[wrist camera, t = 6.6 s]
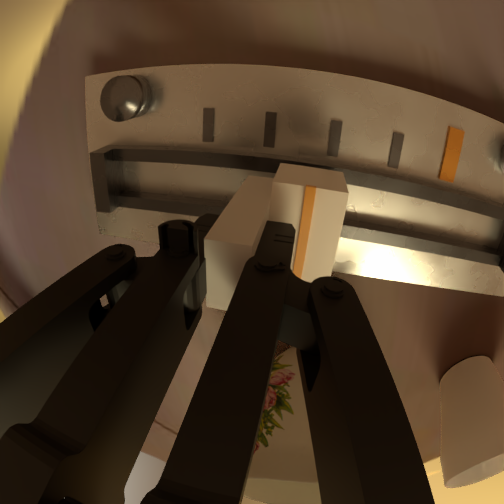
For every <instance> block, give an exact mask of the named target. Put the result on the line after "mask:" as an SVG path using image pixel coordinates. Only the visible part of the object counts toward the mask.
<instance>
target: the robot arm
mask: <svg viewBox="0 0 504 504" xmlns="http://www.w3.org/2000/svg"><path fill="white" fill-rule="evenodd" d="M273 179H274V178H267V177H259V176H250V175H248V177H247V178H246V179H245V181H244V182H243V184H242V185H241V186H240V188H239V189H238V191H237V192H236V193H235V195H234V196H233V198H232V199H231V200H230V202H229V203H228V205H227V206H226V208H225V209H224V210H223V212H222V213H221V215H217V214H209V213H206V214H204V215H203V216H201V217H199V218H197V220H196V221H195V222H192V221H188V220H180V219H176V220H169V221H166V222H164V223H162V224H160V225H159V226H158V235H159V245H160V250H159V251H158V252H157V253H156V254H155V255H154V256H153V257H136V254H135V250H134V248H133V247H131V246H129V245H125V244H115V245H112V246H109V247H107V248H105V249H103V250H101V251H100V252H98V253H97V254H95V255H94V256H92V257H91V258H89V259H88V260H86V261H85V262H83V263H82V264H80V265H79V266H77V267H76V268H74V269H73V270H72V271H70V272H69V273H67V274H66V275H64V276H63V277H61V278H60V279H59V280H57V281H56V282H54V283H53V284H52V285H50V286H49V287H47V288H46V289H45V290H43V291H42V292H41V293H39V294H38V295H37V296H35V297H34V298H32V299H31V300H30V301H28V302H27V303H26V304H24V305H23V306H22V307H21V308H19V309H18V310H17V311H15V312H14V313H13V314H11V315H10V316H9V317H8V318H6V319H5V320H4V321H3V322H1V323H0V504H124V502H125V498H124V488H125V485H126V482H127V480H128V478H129V475H130V473H131V471H132V468H133V466H134V464H135V462H136V459H137V457H138V455H139V453H140V450H141V448H142V446H143V443H144V441H145V439H146V437H147V434H148V432H149V430H150V428H151V425H152V423H153V421H154V419H155V417H156V414H157V412H158V410H159V408H160V405H161V403H162V401H163V399H164V397H165V394H166V392H167V390H168V388H169V386H170V383H171V381H172V379H173V377H174V375H175V372H176V370H177V368H178V366H179V364H180V362H181V359H182V357H183V355H184V353H185V351H186V349H187V346H188V344H189V342H190V340H191V338H192V336H193V333H194V331H195V329H196V327H197V325H198V323H199V321H200V318H201V316H202V302H203V300H204V298H205V296H206V307H210V308H215V309H220V310H226V314H225V316H224V319H223V321H222V324H221V326H220V329H219V331H218V334H217V336H216V339H215V341H214V344H213V346H212V349H211V351H210V354H209V356H208V359H207V362H206V364H205V367H204V369H203V372H202V374H201V377H200V379H199V382H198V384H197V387H196V389H195V392H194V394H193V397H192V399H191V402H190V405H189V407H188V410H187V412H186V415H185V417H184V420H183V422H182V425H181V427H180V430H179V432H178V435H177V438H176V440H175V443H174V445H173V448H172V450H171V453H170V455H169V458H168V460H167V463H166V466H165V468H164V471H163V473H162V476H161V478H160V480H159V482H158V484H157V485H156V487H155V488H154V489H152V490H151V491H150V492H148V493H147V494H146V495H145V497H144V498H143V500H142V501H141V503H140V504H241V502H242V498H243V494H244V491H245V487H246V483H247V479H248V475H249V470H250V466H251V462H252V458H253V454H254V450H255V445H256V441H257V437H258V432H259V428H260V423H261V419H262V414H263V410H264V405H265V400H266V396H267V391H268V386H269V381H270V377H271V372H272V367H273V362H274V357H275V352H276V347H277V343H278V340H280V341H282V342H284V343H286V344H289V345H291V346H293V347H295V348H296V355H297V360H298V366H299V371H300V377H301V382H302V388H303V393H304V399H305V405H306V411H307V416H308V422H309V428H310V434H311V440H312V446H313V452H314V458H315V465H316V471H317V477H318V484H319V490H320V497H321V504H435V502H434V499H433V495H432V492H431V488H430V485H429V481H428V478H427V475H426V471H425V468H424V465H423V462H422V458H421V455H420V452H419V449H418V446H417V443H416V440H415V437H414V434H413V431H412V429H411V426H410V423H409V420H408V417H407V415H406V412H405V409H404V406H403V404H402V401H401V398H400V396H399V393H398V390H397V388H396V385H395V383H394V380H393V378H392V375H391V373H390V370H389V368H388V365H387V363H386V360H385V358H384V355H383V353H382V351H381V348H380V346H379V344H378V341H377V339H376V337H375V334H374V332H373V330H372V327H371V325H370V323H369V320H368V318H367V316H366V314H365V312H364V309H363V307H362V305H361V303H360V301H359V298H358V296H357V294H356V292H355V290H354V288H353V287H352V286H351V285H350V284H349V283H348V282H346V281H345V280H342V279H340V278H337V277H331V276H324V277H319V278H317V279H315V280H313V282H312V283H309V282H306V281H304V280H302V279H300V278H298V277H297V276H296V275H295V274H294V273H293V272H292V270H291V261H292V254H293V247H294V240H295V233H296V230H295V228H294V227H293V225H292V224H290V223H283V222H276V221H269V213H270V203H271V192H272V182H273ZM105 294H106V296H107V299H108V303H109V304H107V305H106V306H104V307H102V305H101V302H100V298H101V297H102V296H104V295H105ZM64 497H65V499H64Z"/></svg>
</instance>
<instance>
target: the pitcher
mask: <svg viewBox="0 0 504 504" xmlns="http://www.w3.org/2000/svg"><path fill="white" fill-rule="evenodd" d="M243 496H244V497H247V498H249V499H252V500H256V501H259V502H263V503H267V504H321V497H320V490H319V484H318V477H317V471H316V465H315V458H314V452H313V446H312V440H311V434H310V428H309V422H308V416H307V411H306V405H305V399H304V393H303V388H302V382H301V377H300V371H299V366H298V360H297V355H296V348H295V347H293V346H292V347H290V348H288V349H287V350H286V351H284V352H283V353H281V354H280V355H278V356H277V357H276V358H275V359H274V362H273V367H272V372H271V377H270V381H269V386H268V391H267V396H266V400H265V405H264V410H263V414H262V419H261V423H260V428H259V432H258V437H257V441H256V445H255V450H254V454H253V458H252V462H251V466H250V470H249V475H248V479H247V483H246V487H245V491H244V494H243Z"/></svg>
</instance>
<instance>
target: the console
mask: <svg viewBox="0 0 504 504" xmlns="http://www.w3.org/2000/svg"><path fill="white" fill-rule="evenodd" d="M85 106H86V126H87V141H88V152H89V162H90V172H91V180H92V188H93V195H94V202H95V208H96V214H97V220H98V226H99V231H100V234H104V235H110V236H116V237H122V238H128V239H134V240H140V241H146V242H152V243H158V244H159V235H158V226H159V225H160V224H162V223H164V222H166V221H169V220H176V219H180V220H188V221H192V222H195V221H196V220H197V218H199V217H201V216H203V215H204V214H206V213H209V214H217V215H221V213H222V212H223V210H224V209H225V208H226V206H227V205H228V203H229V202H230V200H231V199H232V198H233V196H234V195H235V193H236V192H237V191H238V189H239V188H240V186H241V185H242V184H243V182H244V181H245V179H246V178H247V177H248V175H250V176H259V177H267V178H274V177H275V175H276V172H277V170H278V168H279V166H280V163H286V164H293V165H300V166H307V167H314V168H320V169H327V170H333V171H339V172H343V174H344V177H345V181H346V184H347V188H348V191H349V196H348V201H347V206H346V211H345V216H344V221H343V226H342V230H341V235H340V239H339V244H338V248H337V253H336V257H335V261H334V265H333V269H332V271H335V272H341V273H348V274H354V275H361V276H367V277H374V278H380V279H387V280H394V281H400V282H407V283H414V284H420V285H427V286H434V287H440V288H447V289H454V290H461V291H468V292H474V293H481V294H488V295H495V296H502V297H503V296H504V123H501V122H499V121H497V120H495V119H492V118H490V117H488V116H485V115H483V114H480V113H478V112H475V111H473V110H470V109H468V108H465V107H462V106H460V105H457V104H454V103H451V102H448V101H446V100H443V99H440V98H437V97H433V96H430V95H427V94H424V93H420V92H417V91H413V90H410V89H406V88H402V87H399V86H395V85H391V84H387V83H382V82H378V81H373V80H369V79H364V78H359V77H354V76H348V75H343V74H337V73H331V72H324V71H317V70H309V69H301V68H291V67H281V66H268V65H249V64H187V65H169V66H156V67H146V68H136V69H128V70H121V71H114V72H107V73H101V74H96V75H90V76H85Z"/></svg>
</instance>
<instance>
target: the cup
mask: <svg viewBox="0 0 504 504" xmlns="http://www.w3.org/2000/svg"><path fill="white" fill-rule="evenodd" d="M440 403H441V455H440V460H441V466H442V472H443V478H444V485H445V487H447V488H455V487H462V486H466V485H470V484H473V483H476V482H479V481H482V480H484V479H487V478H489V477H492V476H494V475H496V474H498V473H500V472H502V471H503V470H504V382H503V380H502V378H501V376H500V374H499V373H498V371H497V369H496V367H495V366H494V364H493V362H492V361H491V359H490V358H489V357H486V356H474V357H470V358H468V359H465V360H463V361H461V362H459V363H457V364H456V365H454V366H453V367H452V368H450V369H449V370H448V371H447V372H446V373H445V374H444V376H443V377H442V379H441V381H440Z"/></svg>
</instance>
